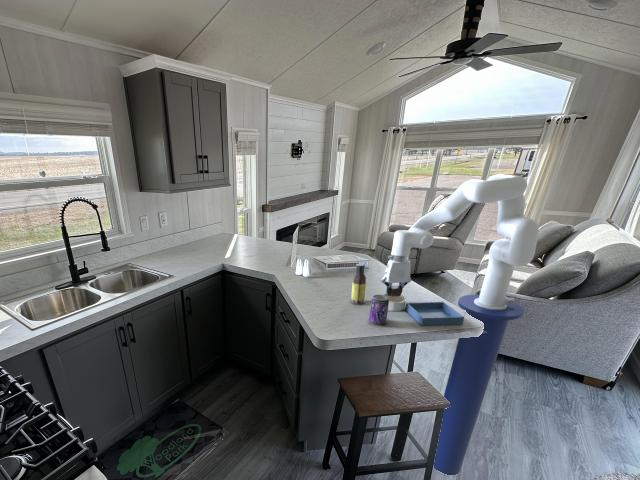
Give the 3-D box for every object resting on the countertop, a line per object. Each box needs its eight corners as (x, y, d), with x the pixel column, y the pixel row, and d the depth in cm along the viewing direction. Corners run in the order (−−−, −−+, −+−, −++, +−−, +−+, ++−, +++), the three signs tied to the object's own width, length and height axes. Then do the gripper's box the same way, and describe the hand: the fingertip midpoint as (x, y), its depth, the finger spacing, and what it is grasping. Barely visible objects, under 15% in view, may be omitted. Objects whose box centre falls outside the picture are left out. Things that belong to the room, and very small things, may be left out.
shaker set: (313, 277, 200) (314, 260, 196) (308, 279, 198) (308, 261, 194) (300, 272, 210) (300, 256, 205) (295, 274, 208) (295, 257, 203)
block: (396, 293, 158) (397, 285, 157) (399, 296, 154) (401, 288, 153) (387, 293, 158) (388, 285, 157) (391, 296, 155) (392, 288, 153)
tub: (441, 308, 154) (443, 301, 153) (462, 324, 140) (464, 317, 138) (404, 309, 155) (406, 302, 154) (421, 325, 140) (423, 318, 139)
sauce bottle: (363, 300, 167) (367, 262, 159) (364, 305, 161) (369, 266, 153) (350, 299, 168) (354, 262, 160) (350, 304, 163) (354, 266, 155)
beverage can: (370, 325, 142) (373, 300, 137) (367, 318, 148) (370, 294, 143) (387, 326, 141) (391, 300, 136) (383, 318, 147) (387, 294, 142)
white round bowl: (398, 301, 164) (400, 293, 162) (408, 310, 153) (410, 302, 152) (376, 302, 164) (377, 293, 162) (385, 311, 154) (386, 302, 152)
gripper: (384, 260, 146) (378, 298, 153) (422, 259, 145) (415, 297, 153) (378, 256, 153) (373, 292, 160) (414, 255, 152) (407, 291, 160)
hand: (393, 294), depth 156 cm, fingers closed on block, 4 cm apart
